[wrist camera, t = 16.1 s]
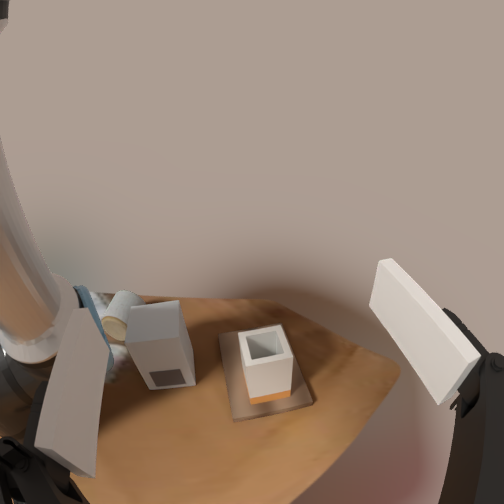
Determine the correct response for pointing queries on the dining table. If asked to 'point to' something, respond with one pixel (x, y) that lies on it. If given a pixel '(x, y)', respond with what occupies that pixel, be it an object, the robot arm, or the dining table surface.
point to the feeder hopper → (161, 345)
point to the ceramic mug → (120, 313)
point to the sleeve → (266, 364)
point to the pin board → (238, 387)
